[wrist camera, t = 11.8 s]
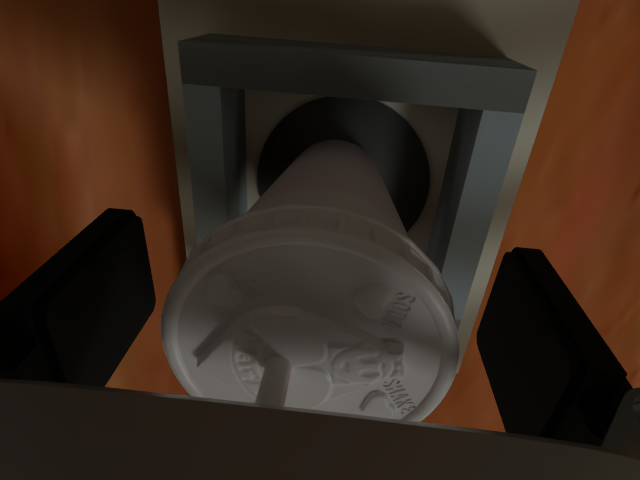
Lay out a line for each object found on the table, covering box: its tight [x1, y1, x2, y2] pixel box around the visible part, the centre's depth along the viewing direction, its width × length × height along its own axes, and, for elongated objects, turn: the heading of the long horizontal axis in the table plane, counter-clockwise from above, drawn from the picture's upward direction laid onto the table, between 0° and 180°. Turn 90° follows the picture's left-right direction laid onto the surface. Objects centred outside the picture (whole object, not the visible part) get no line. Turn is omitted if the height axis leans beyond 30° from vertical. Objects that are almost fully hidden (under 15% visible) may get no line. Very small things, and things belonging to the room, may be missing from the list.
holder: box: [158, 0, 580, 373], centre depth 17 cm, size 20×14×4 cm
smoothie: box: [161, 140, 459, 422], centre depth 11 cm, size 6×6×14 cm
